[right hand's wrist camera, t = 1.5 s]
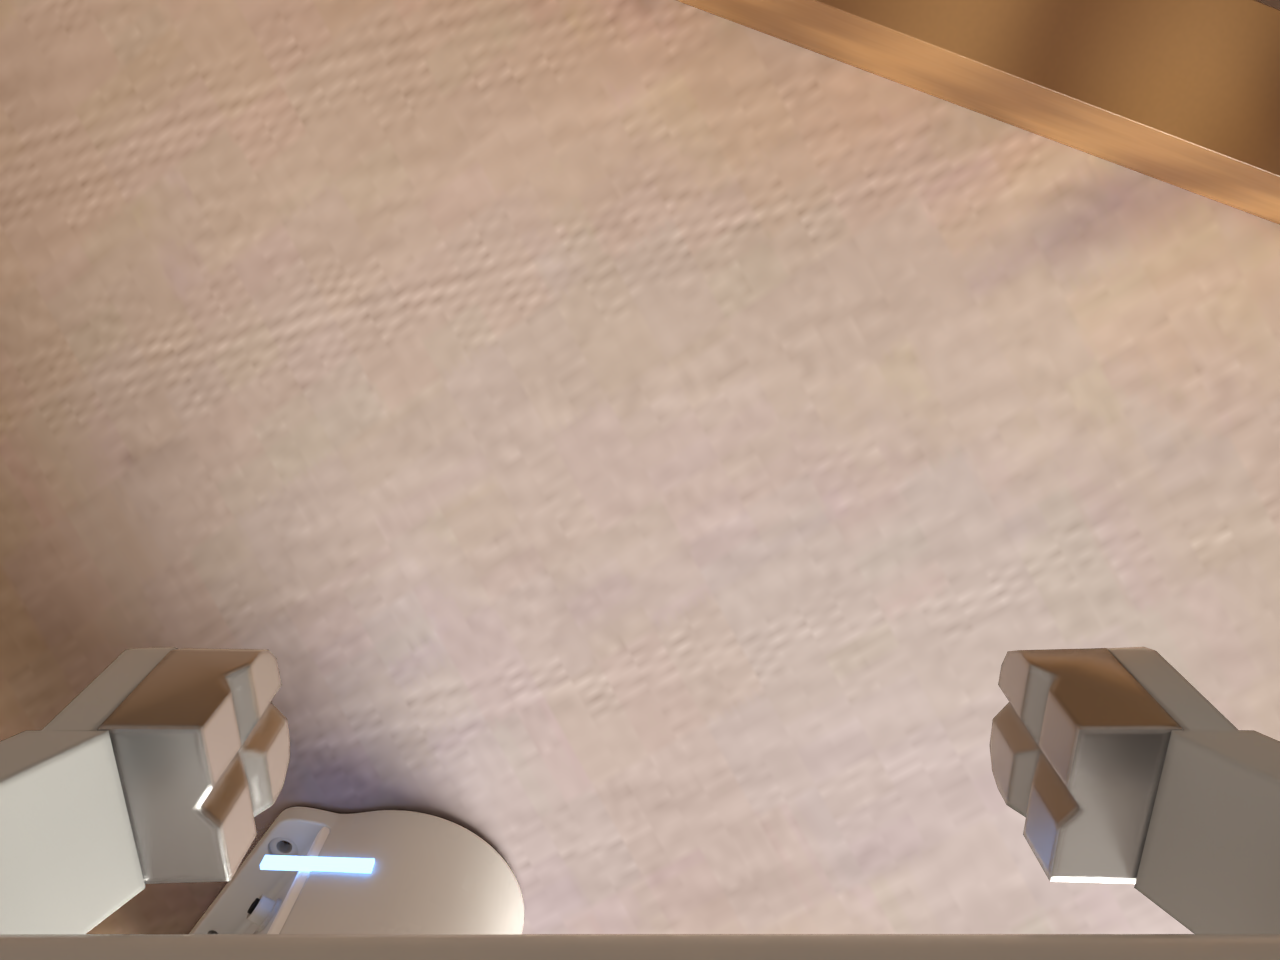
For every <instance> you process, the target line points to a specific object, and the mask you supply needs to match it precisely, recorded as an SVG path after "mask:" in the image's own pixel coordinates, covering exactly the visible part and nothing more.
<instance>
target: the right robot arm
mask: <svg viewBox="0 0 1280 960" xmlns="http://www.w3.org/2000/svg"><path fill="white" fill-rule="evenodd" d="M281 685H282V683H281V678H280V673H279V668H278V663H277V658H276V657H275V656H274V655H273V654H272V653H271V652H270V651H269V650H261V649H209V648H180V649H178V648H176V647H159V648H134V649H128V650H125V651H124V652H123V653H122V654H121V655H119V656H118V657H117V658H116V659H115V660H114V661H113V662H112V663H111V664H110V665H109V666H108V667H107V668H106V669H105V670H104V671H103V672H102V673H101V674H100V675H99V676H98V677H97V678H95V679H94V680H93V681H92V682H91V683H90V684H89V685H88V686H87V687H86V688H85V689H84V690H83V691H82V692H81V693H80V694H79V695H78V696H77V697H76V698H75V699H74V700H73V701H71V702H70V703H69V704H68V705H67V706H66V707H65V708H64V709H63V710H62V711H61V712H60V713H59V714H58V715H57V716H56V717H55V718H54V719H53V720H52V721H51V722H50V723H48V724H47V725H46V726H45V727H44V728H43V729H42V730H35V731H24V732H22V733H19V734H17V735H15V736H12V737H10V738H8V739H5V740H3V741H1V742H0V960H1280V742H1279V741H1277V740H1275V739H1272V738H1270V737H1268V736H1265V735H1263V734H1261V733H1258V732H1256V731H1245V730H1238V729H1237V728H1236V727H1235V726H1234V725H1233V724H1232V723H1231V722H1229V721H1228V720H1227V719H1226V718H1225V717H1224V716H1223V715H1222V714H1221V713H1220V712H1219V711H1218V710H1217V709H1216V708H1215V707H1214V706H1213V705H1212V704H1211V703H1210V702H1209V701H1208V700H1207V699H1206V698H1205V697H1203V696H1202V695H1201V694H1200V693H1199V692H1198V691H1197V690H1196V689H1195V688H1194V687H1193V686H1192V685H1191V684H1190V683H1189V682H1188V681H1187V680H1186V679H1185V678H1184V677H1183V676H1182V675H1181V674H1180V673H1178V672H1177V671H1176V670H1175V669H1174V668H1173V667H1172V666H1171V665H1170V664H1169V663H1168V662H1167V661H1166V660H1165V659H1164V658H1163V657H1162V656H1161V655H1160V654H1159V653H1158V652H1157V651H1155V650H1152V649H1149V648H1146V647H1129V648H1095V649H1055V650H1018V651H1008V652H1007V654H1006V656H1005V658H1004V661H1003V663H1002V665H1001V671H1000V677H999V683H998V685H999V687H1000V688H1001V690H1002V691H1003V693H1004V694H1005V696H1006V697H1007V699H1008V700H1009V703H1008V704H1007V705H1006V706H1005V707H1004V708H1003V709H1002V710H1001V711H1000V712H999V713H998V714H997V715H996V716H995V717H994V719H993V722H992V730H991V738H990V754H991V764H992V771H993V775H994V778H995V781H996V784H997V787H998V790H999V791H1000V793H1001V795H1002V797H1003V799H1004V801H1005V803H1006V805H1008V806H1009V807H1011V808H1012V809H1014V810H1015V811H1017V812H1018V813H1020V814H1022V815H1023V816H1025V817H1026V820H1025V826H1024V832H1023V835H1024V837H1025V839H1026V840H1027V842H1028V844H1029V846H1030V847H1031V849H1032V851H1033V853H1034V854H1035V856H1036V858H1037V860H1038V861H1039V863H1040V865H1041V867H1042V868H1043V870H1044V872H1045V874H1046V875H1047V877H1048V879H1049V881H1052V882H1088V883H1124V884H1135V887H1134V888H1136V889H1137V890H1138V891H1140V892H1141V893H1142V894H1143V895H1145V896H1146V897H1147V898H1149V899H1150V900H1151V901H1152V902H1154V903H1155V904H1156V905H1158V906H1159V907H1160V908H1162V909H1163V910H1164V911H1165V912H1167V913H1168V914H1169V915H1171V916H1172V917H1173V918H1175V919H1176V920H1177V921H1178V922H1180V923H1181V924H1182V925H1184V926H1185V927H1186V928H1188V929H1189V930H1190V931H1191V932H1193V933H1194V934H522V931H523V925H524V902H523V897H522V893H521V890H520V887H519V884H518V882H517V880H516V878H515V875H514V874H513V872H512V870H511V869H510V867H509V866H508V864H507V863H506V862H505V860H504V859H503V858H502V857H501V855H500V854H499V853H498V852H497V851H496V850H495V849H494V848H493V847H491V846H490V845H489V844H488V843H487V842H486V841H484V840H483V839H482V838H480V837H479V836H477V835H476V834H474V833H473V832H471V831H469V830H468V829H466V828H464V827H462V826H460V825H458V824H456V823H453V822H451V821H449V820H446V819H443V818H440V817H437V816H433V815H429V814H425V813H420V812H414V811H405V810H378V811H370V812H362V813H352V814H339V813H334V812H330V811H325V810H320V809H315V808H309V807H290V808H287V809H285V810H284V811H282V812H281V813H280V814H279V816H278V817H277V818H276V819H275V821H274V822H273V823H272V825H271V826H270V827H269V829H268V830H267V831H266V833H265V834H264V835H263V837H262V838H261V839H260V840H259V842H258V843H257V844H256V846H255V847H254V848H253V850H252V851H251V852H250V854H249V855H248V856H247V858H246V859H245V860H244V862H243V863H242V864H241V866H240V867H239V865H240V863H241V861H242V860H243V858H244V856H245V854H246V853H247V851H248V849H249V847H250V846H251V844H252V842H253V840H254V839H255V837H256V835H257V832H256V826H255V820H254V817H255V816H257V815H258V814H260V813H262V812H263V811H265V810H266V809H268V808H269V807H271V806H272V805H274V803H275V801H276V799H277V797H278V795H279V793H280V791H281V789H282V787H283V785H284V781H285V777H286V773H287V769H288V764H289V760H290V735H289V728H288V721H287V719H286V717H285V716H284V715H283V714H282V713H281V712H280V711H279V710H278V709H277V708H276V707H275V706H274V705H273V704H272V703H271V700H272V699H273V697H274V696H275V694H276V693H277V691H278V690H279V688H280V687H281ZM283 841H287V842H289V843H290V844H286V843H284V842H283ZM238 867H239V868H238ZM237 868H238V870H237ZM236 870H237V871H236ZM225 881H228V883H227V884H226V885H225V887H224V888H223V889H222V891H221V892H220V893H219V895H218V896H217V897H216V899H215V900H214V901H213V903H212V904H211V905H210V906H209V908H208V909H207V910H206V912H205V913H204V914H203V916H202V917H201V918H200V920H199V921H198V922H197V924H196V925H195V926H194V928H193V929H192V930H191V932H190V933H189V934H86V933H88V932H89V931H90V930H91V929H93V928H94V927H95V926H97V925H98V924H99V923H101V922H102V921H103V920H104V919H106V918H107V917H108V916H110V915H111V914H112V913H114V912H115V911H116V910H117V909H119V908H120V907H121V906H123V905H124V904H125V903H127V902H128V901H129V900H130V899H132V898H133V897H134V896H136V895H137V894H138V893H140V892H141V891H142V890H143V889H145V884H155V883H190V882H225Z"/></svg>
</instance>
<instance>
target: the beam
mask: <svg viewBox="0 0 1280 960" xmlns="http://www.w3.org/2000/svg"><path fill="white" fill-rule="evenodd" d="M677 1H679V2H682V3H685V4H688V5H690V6H693V7H696V8H698V9H701V10H704V11H706V12H709V13H712V14H714V15H717V16H720V17H723V18H725V19H728V20H731V21H733V22H736V23H739V24H741V25H744V26H747V27H749V28H752V29H755V30H758V31H760V32H763V33H766V34H768V35H771V36H774V37H776V38H779V39H782V40H784V41H787V42H790V43H793V44H795V45H798V46H801V47H803V48H806V49H809V50H811V51H814V52H817V53H819V54H822V55H825V56H828V57H830V58H833V59H836V60H838V61H841V62H844V63H846V64H849V65H852V66H854V67H857V68H860V69H863V70H865V71H868V72H871V73H873V74H876V75H879V76H881V77H884V78H887V79H889V80H892V81H895V82H898V83H900V84H903V85H906V86H908V87H911V88H914V89H916V90H919V91H922V92H924V93H927V94H930V95H933V96H935V97H938V98H941V99H943V100H946V101H949V102H951V103H954V104H957V105H959V106H962V107H965V108H968V109H970V110H973V111H976V112H978V113H981V114H984V115H986V116H989V117H992V118H994V119H997V120H1000V121H1003V122H1005V123H1008V124H1011V125H1013V126H1016V127H1019V128H1021V129H1024V130H1027V131H1029V132H1032V133H1035V134H1038V135H1040V136H1043V137H1046V138H1048V139H1051V140H1054V141H1056V142H1059V143H1062V144H1065V145H1067V146H1070V147H1073V148H1075V149H1078V150H1081V151H1083V152H1086V153H1089V154H1091V155H1094V156H1097V157H1100V158H1102V159H1105V160H1108V161H1110V162H1113V163H1116V164H1118V165H1121V166H1124V167H1126V168H1129V169H1132V170H1135V171H1137V172H1140V173H1143V174H1145V175H1148V176H1151V177H1153V178H1156V179H1159V180H1161V181H1164V182H1167V183H1170V184H1172V185H1175V186H1178V187H1180V188H1183V189H1186V190H1188V191H1191V192H1194V193H1196V194H1199V195H1202V196H1205V197H1207V198H1210V199H1213V200H1215V201H1218V202H1221V203H1223V204H1226V205H1229V206H1231V207H1234V208H1237V209H1240V210H1242V211H1245V212H1248V213H1250V214H1253V215H1256V216H1258V217H1261V218H1264V219H1266V220H1269V221H1272V222H1275V223H1277V224H1280V10H1278V9H1275V8H1273V7H1270V6H1268V5H1265V4H1263V3H1260V2H1258V1H1255V0H677Z"/></svg>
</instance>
